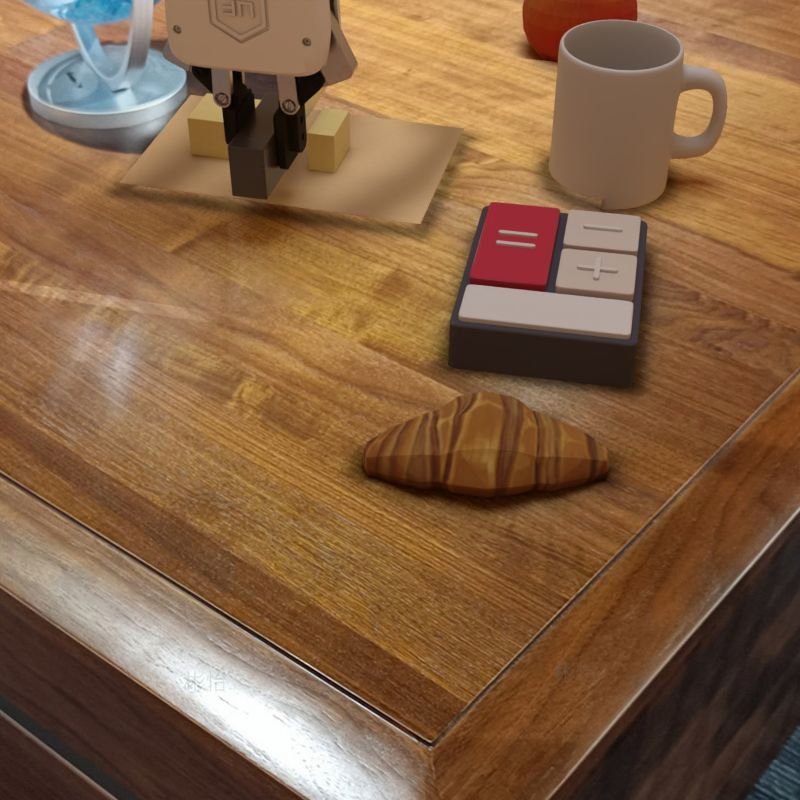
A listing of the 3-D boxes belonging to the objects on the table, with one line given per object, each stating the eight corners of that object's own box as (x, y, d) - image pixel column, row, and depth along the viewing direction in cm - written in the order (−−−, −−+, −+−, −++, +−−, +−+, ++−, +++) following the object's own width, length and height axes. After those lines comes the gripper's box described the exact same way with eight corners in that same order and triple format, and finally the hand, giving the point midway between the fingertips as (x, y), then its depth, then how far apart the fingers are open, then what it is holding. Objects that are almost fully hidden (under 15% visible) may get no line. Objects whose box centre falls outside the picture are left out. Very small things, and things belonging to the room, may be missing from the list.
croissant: (601, 437, 77) (610, 367, 74) (614, 521, 72) (624, 450, 69) (364, 433, 77) (362, 364, 74) (359, 517, 72) (357, 446, 69)
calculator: (649, 209, 89) (639, 334, 77) (641, 266, 91) (631, 395, 80) (483, 193, 90) (448, 313, 79) (480, 249, 93) (446, 373, 81)
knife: (267, 200, 87) (263, 150, 85) (232, 196, 87) (226, 146, 85) (341, 86, 100) (339, 39, 98) (310, 82, 100) (307, 36, 98)
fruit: (637, 41, 117) (651, -74, 111) (626, 90, 110) (640, -30, 104) (528, 30, 119) (535, -84, 113) (510, 78, 112) (517, -41, 106)
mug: (548, 215, 95) (560, 70, 88) (545, 155, 102) (556, 16, 95) (720, 220, 95) (746, 75, 88) (705, 160, 101) (728, 20, 94)
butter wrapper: (121, 200, 97) (118, 182, 96) (192, 111, 107) (190, 94, 106) (420, 242, 93) (420, 223, 92) (463, 145, 103) (464, 127, 102)
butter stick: (190, 154, 99) (186, 117, 97) (210, 129, 102) (206, 92, 100) (282, 166, 98) (279, 129, 96) (298, 140, 101) (296, 103, 99)
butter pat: (308, 170, 97) (306, 132, 95) (324, 143, 100) (323, 106, 98) (335, 173, 97) (334, 136, 95) (350, 147, 100) (349, 110, 98)
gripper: (87, -115, 77) (132, 171, 88) (360, -95, 74) (370, 199, 85) (139, -156, 82) (175, 118, 94) (394, -139, 79) (399, 143, 91)
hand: (267, 154), depth 89 cm, fingers closed on knife, 2 cm apart
